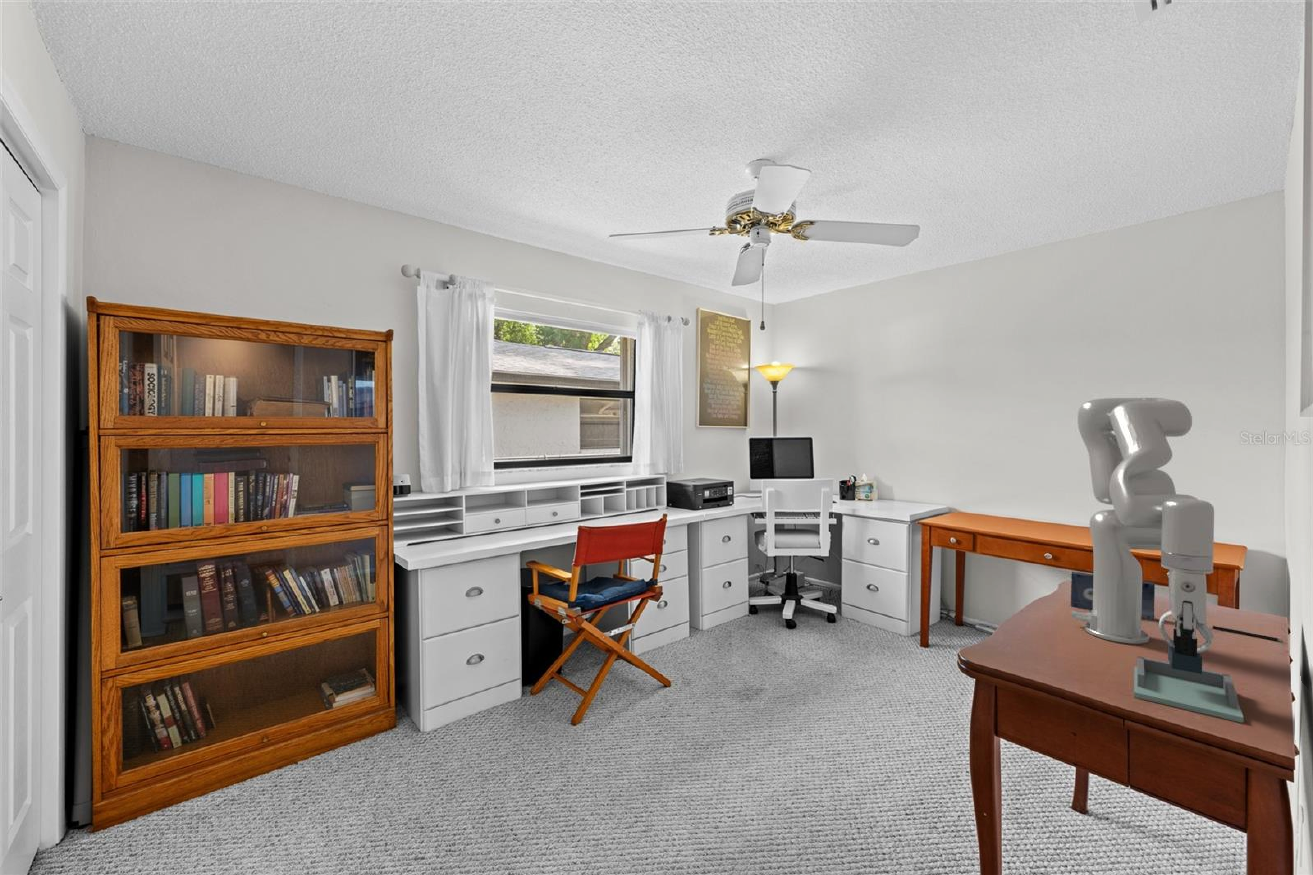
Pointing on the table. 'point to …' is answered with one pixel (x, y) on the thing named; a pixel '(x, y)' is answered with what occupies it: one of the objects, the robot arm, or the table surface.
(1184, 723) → the table surface
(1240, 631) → the black pen
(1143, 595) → the vhs cassette tape
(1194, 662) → the watch
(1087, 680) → the table surface
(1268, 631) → the table surface
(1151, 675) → the shallow grey tray
